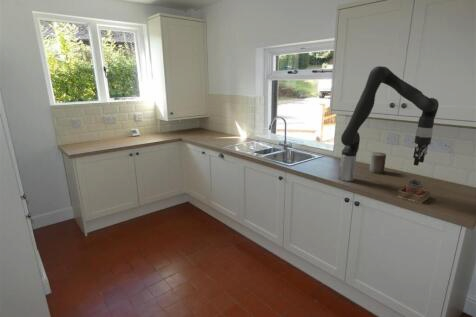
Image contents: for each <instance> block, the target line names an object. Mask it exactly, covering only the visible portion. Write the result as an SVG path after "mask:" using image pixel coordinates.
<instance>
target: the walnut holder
mask: <svg viewBox="0 0 476 317" xmlns="http://www.w3.org/2000/svg"><path fill="white" fill-rule="evenodd" d="M406 187H407V185H404V186H402V187H401V188H399V189H398V190H397V192H396V197H397V198H401V199H404V200H407V199H408V201H411V200H412V202H415V201H416V202H415V203H418V202H419V203H420V204H423V203H424V202H425V201H426V200H428V198H429V197H430V195H431V194H430V193H431V191H430V190H426V189H422V191H421V196H418V195H414V194H410V193H406ZM422 202H423V203H422Z"/></svg>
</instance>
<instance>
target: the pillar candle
mask: <svg viewBox="0 0 476 317" xmlns="http://www.w3.org/2000/svg"><path fill="white" fill-rule="evenodd" d="M386 160H387V154H386V153H384V152H376V151H375V152H371V156H370V164H369V172H370V173H372V174H379V175H380V174H385V165H386Z"/></svg>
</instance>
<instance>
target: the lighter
mask: <svg viewBox="0 0 476 317" xmlns="http://www.w3.org/2000/svg"><path fill="white" fill-rule="evenodd" d="M406 186H407V187H406V193H410V194H414V195H418V196H421V191H422V190H423V187H424V185H423V181H422V180H417V179H416V178H415V179H414V178H413V179H412V178H410V179H409V181H407V182H406Z"/></svg>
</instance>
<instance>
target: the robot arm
mask: <svg viewBox="0 0 476 317" xmlns="http://www.w3.org/2000/svg"><path fill="white" fill-rule="evenodd" d="M368 74H369V75H368V77H367V81H366V83H365V87H364V89H363V91H362V93H361V95H360V98H359V100H358V102H357V104H356V106H355V108H354V110H353V112H352V115H351V118H350V119H349V121H348V124H347V126H346V127H345V129H344V131H343V132H342V135H341V138H340V141H341V143H342V145H344V147H343V149H342V150H341V155H340V156H341V158H340V164H339V166H338V175H337V177H338V178H337V179H339V178H340V179H339V180H341V181H343V180H345V181H344V182H352V181H354V180H355V171H356V163H357V162H356V161H357V154H358V152H359V149H360V148H359V147H360V140H361V138H360V133H359V132H358V131H359V129H360V127H361V126H362V125H363V124H364V123H365V121H366V120H367V119H368V117H369V116H370V114H371V112H372V110H373V108H374V106H375V101H376V94H377V91H378V89H379V87H380V86H381V84H384V85H386V86H388V87H390V88H392V89H393V90H394V91H396V92H397V94H398V95H400V96H401V97H402V98H404V99H406V100H407V101H408V102H410V103H412V104H413V105H414V106H415V107H416V108H418V109H419V110H421V116H419V119H418V122H417V128H416V131H415V137H414V144H417V146H416V147H415V148H414V152H413V156H412V158H414V161H413V166H419V163H422V164H423V163H424V162H425V156H426V155H427V153H428V148H429V147H428V146H430V145H431V142H432V137H433V133H434V132H433V128H434V124H435V123H434V122H435V118H436V116H437V113H438V111H439V104H440V103H439V101H438V99H436V98H434V97H429V96H427V95H425V94H424V93H423V92H422V91H421V90H420V89H419V88H416V87H415V86H413V85H411V84H410V83H408V82H406V81H404V80H403V79H401V78H400V77H398V76H397V74H395V73H394V72H393V71H392V70H390V68H388V67H387V66H381V65H380V66H379V65H378V66H375V67H373V68H372V69H371V70H370V72H369V73H368Z"/></svg>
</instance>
